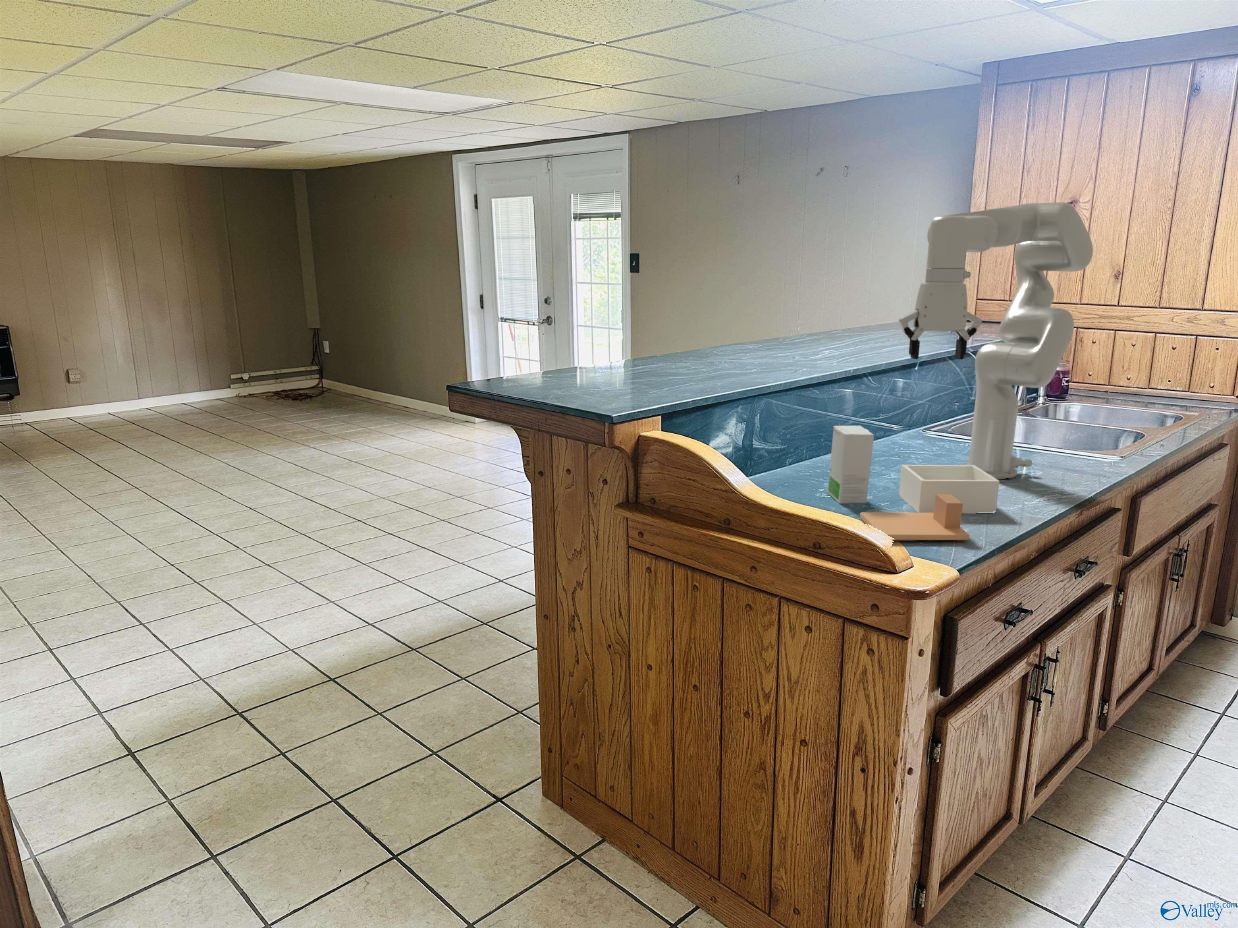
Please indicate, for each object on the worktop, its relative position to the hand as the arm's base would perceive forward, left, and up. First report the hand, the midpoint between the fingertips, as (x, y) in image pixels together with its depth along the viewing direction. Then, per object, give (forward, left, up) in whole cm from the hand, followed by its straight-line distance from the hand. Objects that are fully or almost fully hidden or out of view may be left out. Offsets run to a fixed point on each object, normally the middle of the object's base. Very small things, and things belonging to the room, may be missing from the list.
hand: (936, 358), depth 184 cm
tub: (-2, +8, -30) cm, 31 cm away
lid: (+11, +26, -30) cm, 41 cm away
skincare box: (+18, +4, -31) cm, 36 cm away
